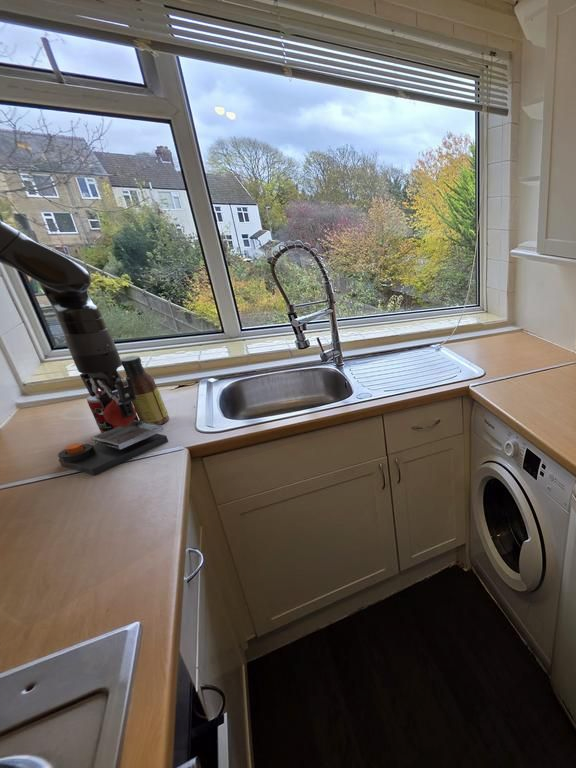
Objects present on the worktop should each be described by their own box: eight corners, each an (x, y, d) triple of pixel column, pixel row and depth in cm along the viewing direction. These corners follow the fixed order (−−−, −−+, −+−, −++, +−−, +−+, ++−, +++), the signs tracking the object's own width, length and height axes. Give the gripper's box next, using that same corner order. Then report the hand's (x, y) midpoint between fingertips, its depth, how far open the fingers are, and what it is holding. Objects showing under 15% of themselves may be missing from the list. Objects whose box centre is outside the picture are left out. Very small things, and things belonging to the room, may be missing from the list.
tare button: (72, 455, 95) (69, 450, 94) (64, 453, 95) (62, 447, 95) (87, 449, 97) (84, 444, 96) (79, 447, 98) (77, 441, 97)
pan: (119, 449, 96) (117, 444, 96) (92, 442, 99) (89, 437, 99) (164, 430, 105) (162, 425, 105) (137, 424, 108) (135, 419, 107)
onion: (104, 430, 100) (91, 400, 97) (131, 419, 105) (120, 391, 101) (118, 434, 98) (106, 404, 95) (145, 424, 103) (134, 395, 100)
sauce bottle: (158, 416, 119) (134, 352, 111) (175, 418, 118) (153, 354, 110) (134, 427, 113) (108, 360, 106) (153, 429, 112) (127, 362, 104)
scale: (93, 477, 92) (87, 464, 91) (58, 466, 96) (52, 454, 94) (168, 441, 107) (164, 430, 105) (136, 433, 110) (131, 422, 109)
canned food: (98, 432, 111) (82, 395, 106) (135, 421, 117) (122, 386, 112) (106, 440, 107) (90, 403, 102) (145, 428, 113) (131, 392, 108)
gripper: (52, 351, 92) (82, 416, 98) (94, 358, 88) (122, 426, 94) (92, 341, 98) (118, 404, 105) (133, 348, 94) (157, 412, 101)
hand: (120, 414), depth 100 cm, fingers closed on onion, 6 cm apart
